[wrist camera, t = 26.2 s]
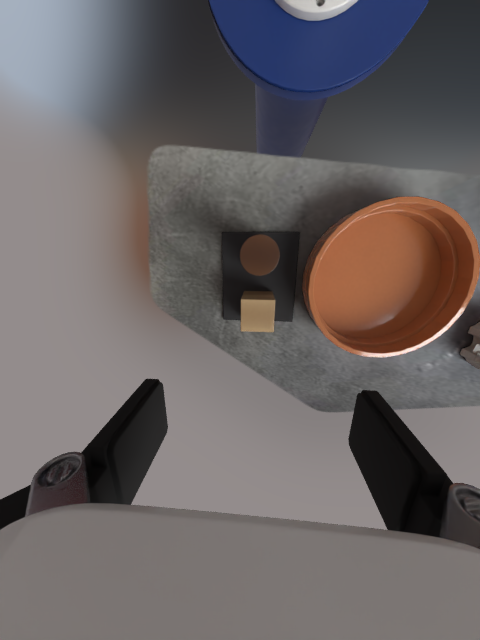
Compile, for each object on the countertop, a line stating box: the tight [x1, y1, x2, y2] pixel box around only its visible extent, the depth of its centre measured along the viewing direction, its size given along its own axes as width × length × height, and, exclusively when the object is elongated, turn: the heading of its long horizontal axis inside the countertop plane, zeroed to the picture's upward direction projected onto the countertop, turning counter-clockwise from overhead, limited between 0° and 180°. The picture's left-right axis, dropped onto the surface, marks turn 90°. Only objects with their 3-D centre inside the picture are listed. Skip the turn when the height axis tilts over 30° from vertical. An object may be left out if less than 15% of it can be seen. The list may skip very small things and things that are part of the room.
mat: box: [222, 232, 300, 322], centre depth 31 cm, size 12×10×1 cm
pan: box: [302, 197, 480, 357], centre depth 27 cm, size 18×18×4 cm
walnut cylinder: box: [240, 234, 280, 276], centre depth 26 cm, size 4×4×8 cm
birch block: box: [241, 291, 275, 332], centre depth 29 cm, size 4×4×6 cm
